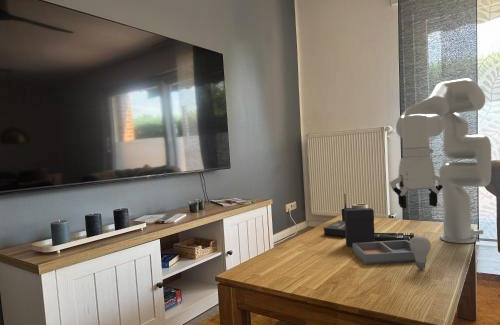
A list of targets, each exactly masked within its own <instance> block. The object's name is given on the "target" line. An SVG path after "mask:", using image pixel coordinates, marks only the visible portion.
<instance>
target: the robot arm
mask: <svg viewBox="0 0 500 325" xmlns="http://www.w3.org/2000/svg"><path fill="white" fill-rule="evenodd" d="M485 104H486V95H485V93H484V91H483V89H482V88H481V87H480V86H479V84H478V83H477V82H476V81H475V80H473V79H470V78H461V79H455V80H448V81H442V82H440V83H438V84H436V85H435V86H434V87H433V88H432V89H431V91H430V92H429V94H428V95H427V97H426V98H425V99H423V100H421V101H420V102H417V103H416V104H414V105H411V106H409V107H408V108H406V109H405V110H403V112H402V113H401V115H400V116H399V117H398V119H397V122H396V125H395V130H396V134H397V135H398V137H399V138H402V155H403V157H402V158H400V160H399V166H398V176H397V177H396V178H394V179H392V180H391V181H390V182H389V186H390V187H391V190H392V191H393V192H394V193H396V195H398V196H397V197H398V201H397V202H398V206H399V207H400V208H402V209H406V208H407V196H406V195H405V194H406V193H407V191H408V190H409V191H411V190H428V191H429V193H428V200H429V201H428V203H429V205H430V206H432V207H437V206H438V194H440V191H441V190H442V191H441V192H442V212H443V213H442V215H443V216H442V218H443V233H441V234H440V235H439V239H440V240H442V241H445V242H448V243H452V244H453V243H454V244H472V243H475V242H476V241H477V238H476V235H483V234H484V229H475V228H472V221H471V220H472V218H471V197H470V194H469V193H468V192H467V190H466V189H465V188H464V187H477V188H479V187H480V188H481V187H482V188H483V187H488V186H489V185H490V183H491V181H492V143H491V140H490V138H489V136H487V135H485V134H471V135H469V122H468V120H466V118H465V117H464V116H462V115H461V114H460V113H466V112H467V113H468V112H476V111H480V110H482V108H484V107H485ZM442 132H444V133H443V151H444V156H445V157H446V158H447V159H451V160H475V161H476V162H474V161H472V162H469V161H467V162H465V161H463V162H461V161H459V162H457V161H456V162H447V163H443V164H442V165H441V166H440V167H439V171H438V174H439V176H438V175H436V171H435V164H434V161H433V158H432V157H430V156H431V154H433V153H434V149H433V148H431V147H430V138H433V137H438V136H440V135H441V134H442ZM436 181H437V184H436ZM397 185H398V186H397ZM398 187H399V188H398Z"/></svg>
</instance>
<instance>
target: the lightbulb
mask: <svg viewBox="0 0 500 325" xmlns="http://www.w3.org/2000/svg"><path fill="white" fill-rule="evenodd" d="M410 248H411V250H412V252H413V253H414V256H415V261H416V262H415V263H416V268H418V269H419V270H421V271H423V270H424V269H425V268H426V262H427V258H428V254H429V253H430V251H431V248H432V244H431V241H430V240H429V239H428V238H427V237H425V236H424V235H415V236H413V237H412V238H410Z"/></svg>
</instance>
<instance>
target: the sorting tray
mask: <svg viewBox="0 0 500 325" xmlns="http://www.w3.org/2000/svg"><path fill="white" fill-rule="evenodd" d="M352 253H353V254H354V255H355V256H357V258H358V259H359V260H360V261H362V263H363V264H365V265H367V266H368V265H370V266H371V265H383V264H385V265H386V264H399V263H401V264H402V263H416V261H415V256H414V253H413V252H412V250H411V248H410V241H409V240H408V239H403V240H402V239H401V240H400V239H399V240H385V241H384V240H383V241H375V242H364V243H353V247H352Z"/></svg>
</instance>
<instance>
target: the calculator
mask: <svg viewBox="0 0 500 325" xmlns="http://www.w3.org/2000/svg"><path fill="white" fill-rule="evenodd" d="M343 211H344V221H345V234H346V238H345V245H346V246H347V247H348V248H349V247H350V248H351V247H352V248H353V243H364V242H376V239H375V235H376V234H375V210H374V209H373V208H371V207H365V208H364V207H362V208H347V209H345V210H343Z"/></svg>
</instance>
